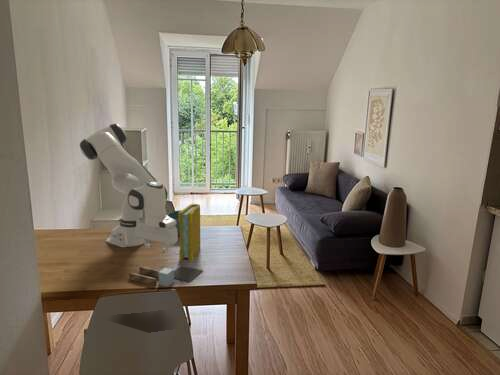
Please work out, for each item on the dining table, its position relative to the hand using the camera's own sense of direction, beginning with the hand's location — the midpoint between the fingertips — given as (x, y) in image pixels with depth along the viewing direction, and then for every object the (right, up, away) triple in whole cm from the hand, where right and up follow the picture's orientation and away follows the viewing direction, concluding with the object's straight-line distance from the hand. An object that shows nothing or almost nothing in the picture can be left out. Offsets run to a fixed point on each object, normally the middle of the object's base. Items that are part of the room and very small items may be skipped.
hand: (156, 250), depth 162 cm
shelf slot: (-6, -14, +7) cm, 17 cm away
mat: (+10, -13, +13) cm, 21 cm away
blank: (+3, -15, +4) cm, 16 cm away
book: (+10, -8, +36) cm, 38 cm away
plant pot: (0, -1, +65) cm, 65 cm away
